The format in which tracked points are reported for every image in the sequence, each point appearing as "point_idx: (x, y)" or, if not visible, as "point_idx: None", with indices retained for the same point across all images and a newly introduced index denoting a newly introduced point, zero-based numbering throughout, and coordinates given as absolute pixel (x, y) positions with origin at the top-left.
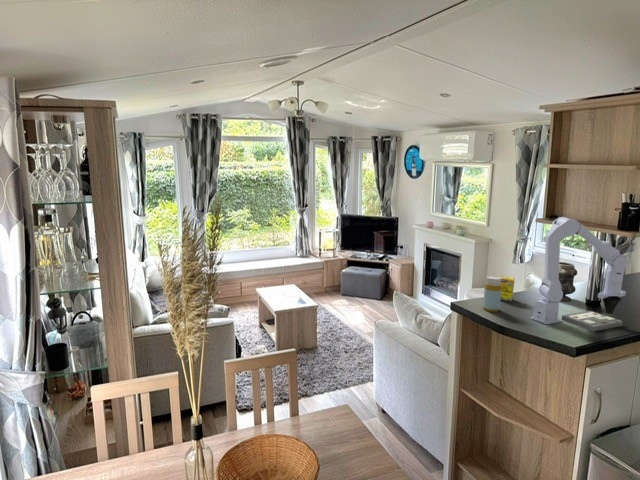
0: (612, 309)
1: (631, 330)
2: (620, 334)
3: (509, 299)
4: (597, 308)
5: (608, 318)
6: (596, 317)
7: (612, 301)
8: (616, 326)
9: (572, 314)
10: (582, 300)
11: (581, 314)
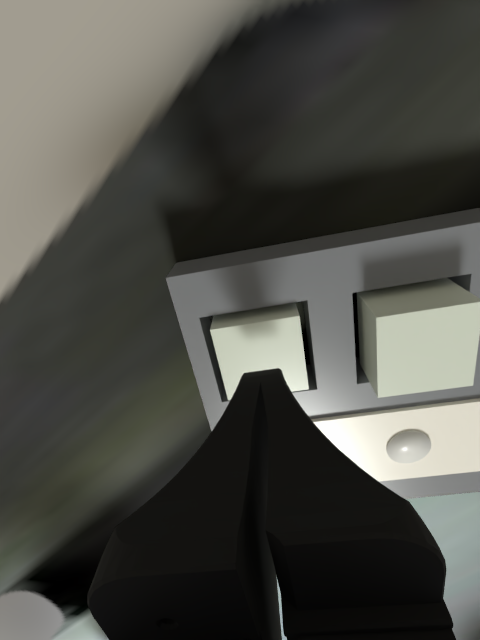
0: (275, 400)
1: (180, 133)
2: (429, 33)
3: None
4: (80, 550)
5: (273, 351)
6: (468, 352)
7: (407, 507)
8: (257, 249)
9: (477, 482)
10: (77, 631)
11: (413, 469)
